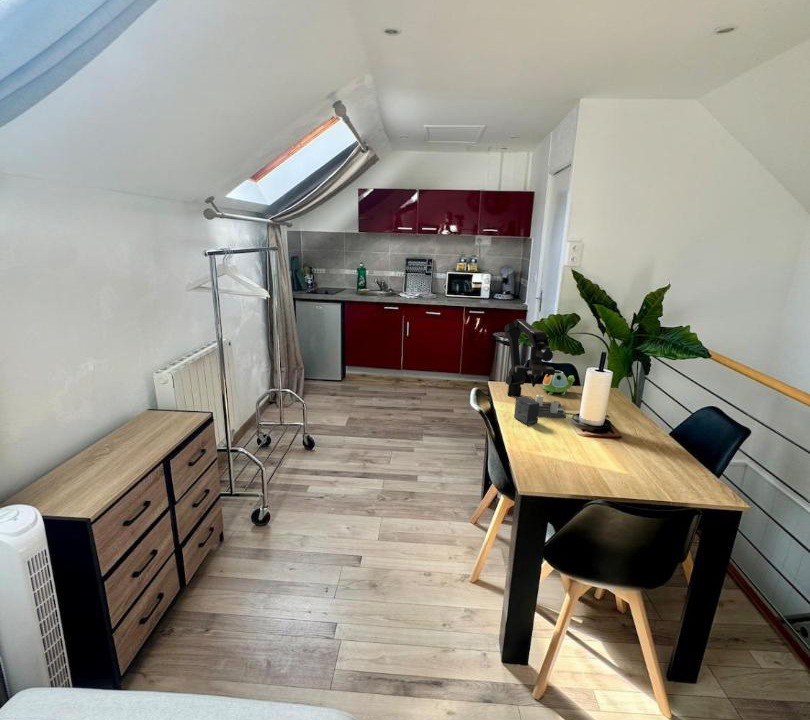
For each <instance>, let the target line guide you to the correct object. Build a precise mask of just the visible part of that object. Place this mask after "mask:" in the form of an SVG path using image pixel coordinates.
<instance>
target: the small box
mask: <svg viewBox="0 0 810 720" xmlns="http://www.w3.org/2000/svg"><path fill="white" fill-rule="evenodd" d="M514 403H515V404H514V405H515V406H514V416H513V419H515V420H517V421H518V422H521V424H523V425H524V426H534V425H537V424H538V420H539V416H538V413H539V404H540V403H538V402H536V400H534V399H532V398H530V397H528V396H520V397H515V402H514Z"/></svg>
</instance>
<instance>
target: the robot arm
mask: <svg viewBox="0 0 810 720" xmlns="http://www.w3.org/2000/svg"><path fill="white" fill-rule="evenodd" d="M504 333H505V336H506V339H508V341H509V353H510V354H509V355H510V366H511V367H510V369H509V371H508V375H507V377H506V378H505V384H506V385H508V386H507V392H506V393H507V396H508V397H515V398H516V397H521V395H522V386H524V384H525V381H526V375H527V376H529V378H530V382H531V387H533V388H534V387H535V386H536V383H537V382H538V380H539V379H540V377H543V373H545V374H548V375H555V369H554V367H552V366H547V364H542V362H543V361H544V362H550V361H551V360H552V359H553V358H554V353H553V351H552V350H551V347H550V344H549V343H550V342H549V340H548V337H547V334H546V332H545V331H543V330H541V329H536V328H534V326H532V325H531V324H530V323H528V322H527V321H526V319H524V318H519V319H514V320H513V321H511V322H508V323H506V324H505V326H504ZM522 333H524V334H525V335H526V336H527V339H528V341H529V342H530V343H529V344H528V346H530V352H529V353H530V354H529V363H528V364H529V366H528V367H525V366H524V365H522V363H521V354H520V344H519V342H520V341H519V339H520V337H521V335H522ZM521 385H522V386H521Z"/></svg>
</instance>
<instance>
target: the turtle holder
mask: <svg viewBox="0 0 810 720" xmlns="http://www.w3.org/2000/svg"><path fill="white" fill-rule="evenodd" d="M554 370H555V369H554ZM575 381H576V379H575V376H574V375H572V374H571V375H569V376H568V377H567V376H566V375H565V373H564V372H563V371H561V370H555V375H548V374H547V373H545V375H544V378H543V381H542V388H543V390H544V391H546V392H547V391H548V393H547V395H548V396H549V395H551V396H553V395H554V393H561V395H562V396H565V395H566V392H567V391H568V390H569V389H570V388H572V386H573V384H574V382H575Z"/></svg>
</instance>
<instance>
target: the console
mask: <svg viewBox="0 0 810 720" xmlns="http://www.w3.org/2000/svg"><path fill="white" fill-rule="evenodd" d="M555 402H558V413H557V414H556V413H551V412H550V407H551V401H543V405H542V406H539V413H538V418H539V417H541V418H554V419H567V414H566V412H565V410H564V407H563V406H562V403H561V402H560V401H557V400H555Z"/></svg>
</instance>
